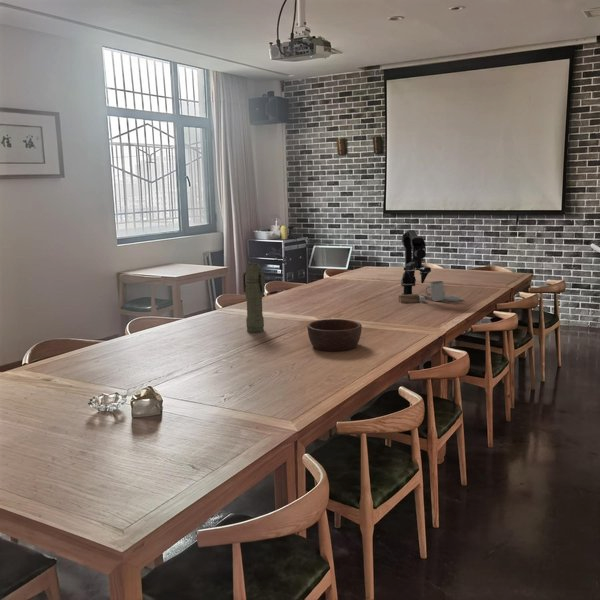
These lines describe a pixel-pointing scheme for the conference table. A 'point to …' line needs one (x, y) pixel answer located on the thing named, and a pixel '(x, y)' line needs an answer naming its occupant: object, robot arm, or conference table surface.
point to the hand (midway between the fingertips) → (417, 282)
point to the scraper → (411, 298)
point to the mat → (451, 298)
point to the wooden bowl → (334, 334)
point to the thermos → (254, 297)
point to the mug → (436, 290)
